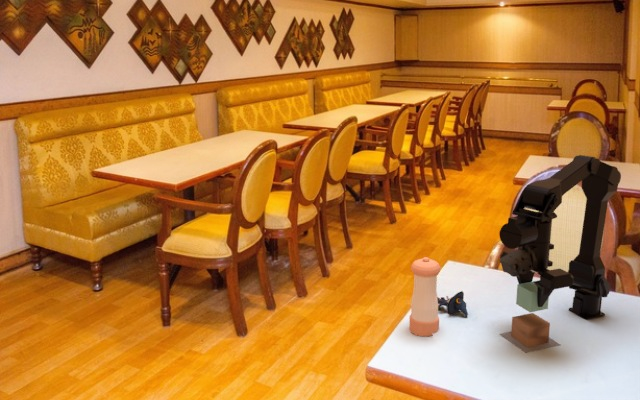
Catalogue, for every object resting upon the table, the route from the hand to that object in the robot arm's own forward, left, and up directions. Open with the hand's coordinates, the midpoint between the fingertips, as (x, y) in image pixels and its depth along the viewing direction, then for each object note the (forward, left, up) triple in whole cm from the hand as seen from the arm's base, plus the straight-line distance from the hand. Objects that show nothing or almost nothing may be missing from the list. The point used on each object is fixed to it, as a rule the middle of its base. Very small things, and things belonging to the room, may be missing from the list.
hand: (532, 302), depth 142 cm
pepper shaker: (+20, -15, -10) cm, 27 cm away
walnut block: (0, 0, -10) cm, 10 cm away
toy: (+10, -23, -10) cm, 27 cm away
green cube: (0, 0, -1) cm, 1 cm away
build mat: (0, 0, -10) cm, 10 cm away
